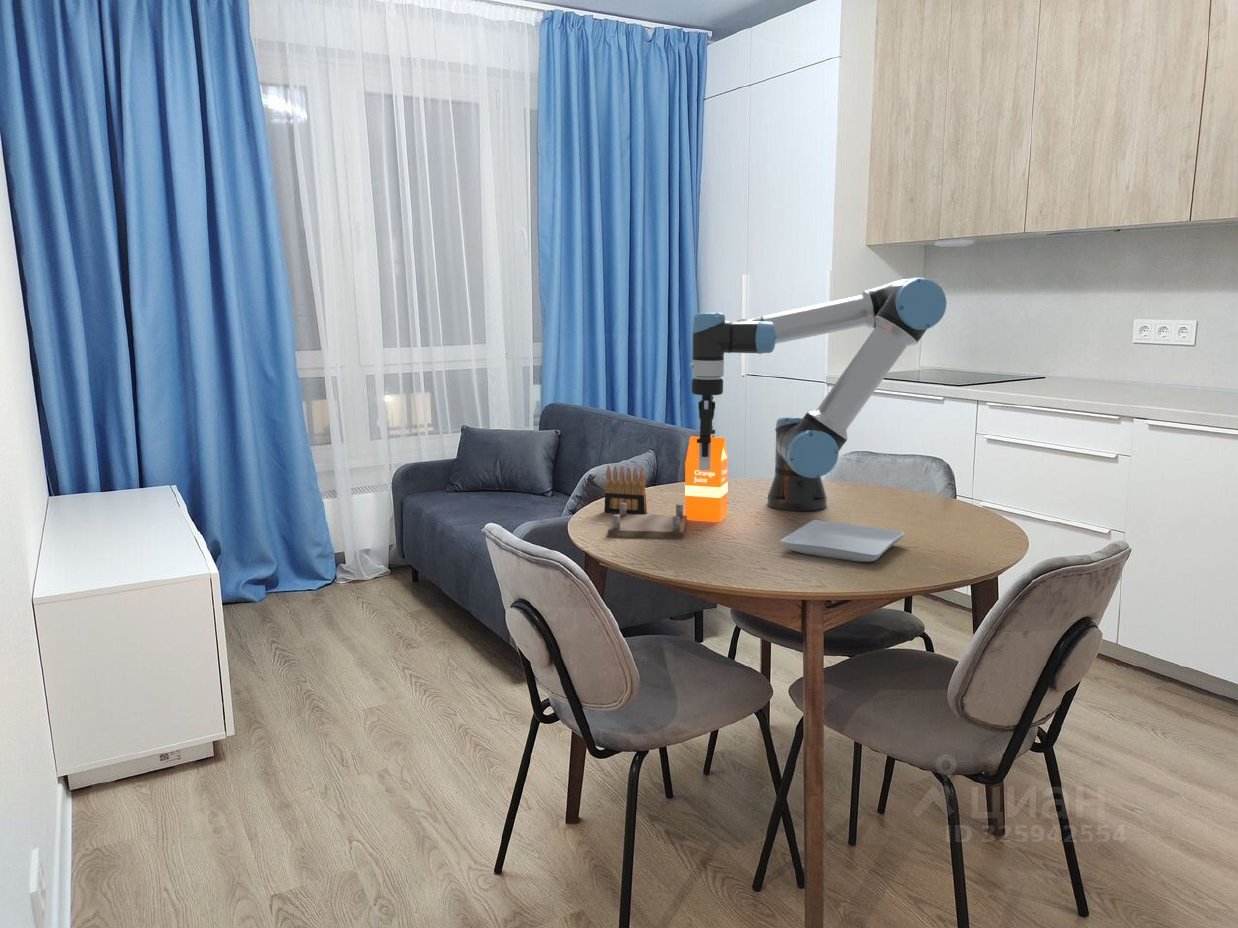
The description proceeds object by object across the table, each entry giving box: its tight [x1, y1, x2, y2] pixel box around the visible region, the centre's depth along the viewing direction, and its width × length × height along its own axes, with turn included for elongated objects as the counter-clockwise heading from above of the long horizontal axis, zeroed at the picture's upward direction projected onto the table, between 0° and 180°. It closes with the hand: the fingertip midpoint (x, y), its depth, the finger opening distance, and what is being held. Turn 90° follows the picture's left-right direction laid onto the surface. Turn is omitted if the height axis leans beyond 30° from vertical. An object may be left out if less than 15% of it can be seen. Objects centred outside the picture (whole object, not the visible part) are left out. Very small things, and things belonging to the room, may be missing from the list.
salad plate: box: [779, 519, 906, 563], centre depth 194 cm, size 21×21×3 cm
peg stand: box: [607, 503, 688, 539], centre depth 212 cm, size 17×16×4 cm
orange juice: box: [684, 435, 729, 523], centre depth 222 cm, size 8×9×20 cm
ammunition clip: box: [604, 465, 648, 515], centre depth 228 cm, size 11×2×12 cm, turn 71°
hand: (705, 465), depth 221 cm, fingers open, 13 cm apart
